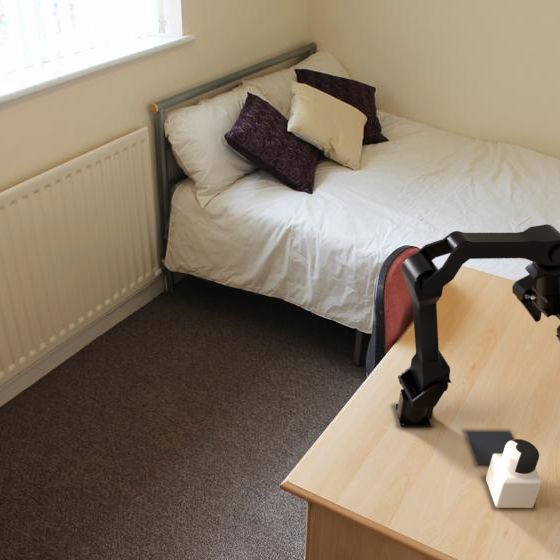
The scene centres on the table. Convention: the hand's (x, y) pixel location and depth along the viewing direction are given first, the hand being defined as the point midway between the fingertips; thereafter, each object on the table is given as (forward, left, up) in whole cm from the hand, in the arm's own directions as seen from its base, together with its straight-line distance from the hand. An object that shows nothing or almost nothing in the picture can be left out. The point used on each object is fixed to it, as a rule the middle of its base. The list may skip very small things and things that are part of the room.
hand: (551, 334), depth 150 cm
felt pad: (-14, -16, -17) cm, 27 cm away
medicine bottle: (-14, -28, -17) cm, 36 cm away
